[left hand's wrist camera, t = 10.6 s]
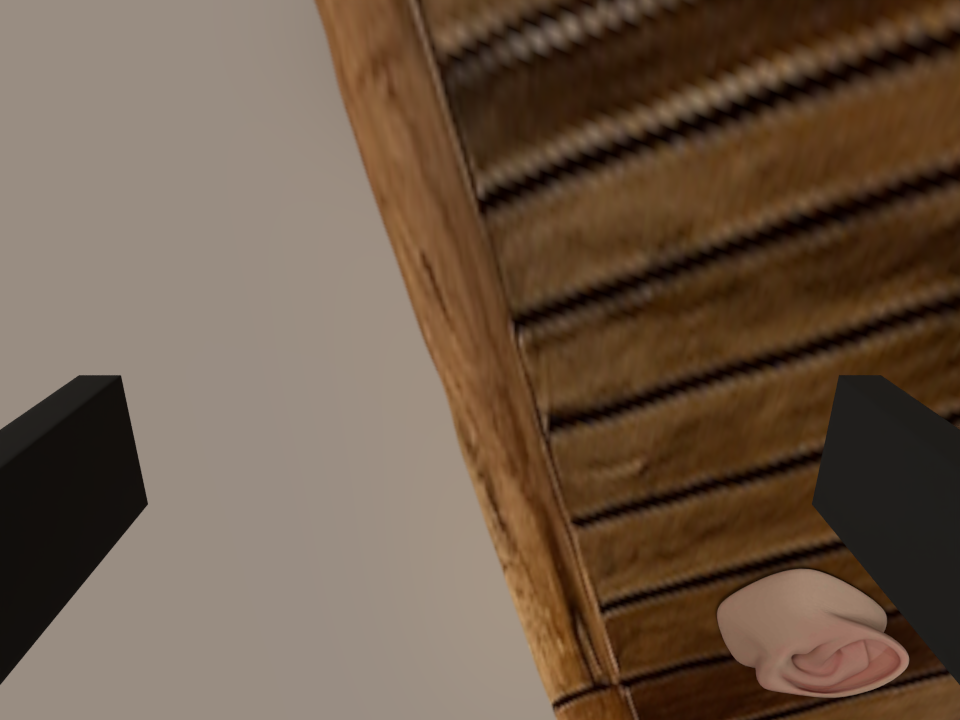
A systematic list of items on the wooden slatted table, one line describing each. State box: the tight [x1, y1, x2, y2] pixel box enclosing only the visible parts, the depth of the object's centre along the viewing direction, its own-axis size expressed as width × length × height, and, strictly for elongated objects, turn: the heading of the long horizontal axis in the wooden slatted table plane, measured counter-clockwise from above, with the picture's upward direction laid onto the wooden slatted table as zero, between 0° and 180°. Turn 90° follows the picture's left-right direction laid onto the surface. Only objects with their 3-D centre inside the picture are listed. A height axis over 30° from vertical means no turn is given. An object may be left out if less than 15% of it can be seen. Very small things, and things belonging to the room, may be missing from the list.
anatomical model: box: [717, 569, 909, 697], centre depth 54 cm, size 13×4×12 cm
